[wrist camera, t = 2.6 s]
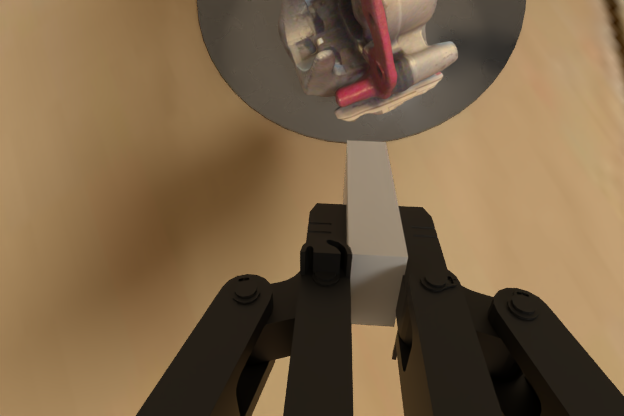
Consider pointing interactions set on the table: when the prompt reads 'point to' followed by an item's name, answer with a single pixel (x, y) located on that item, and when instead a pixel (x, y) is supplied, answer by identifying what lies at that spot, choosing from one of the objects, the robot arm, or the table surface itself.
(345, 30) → the brake caliper
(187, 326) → the table surface
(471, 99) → the disc
